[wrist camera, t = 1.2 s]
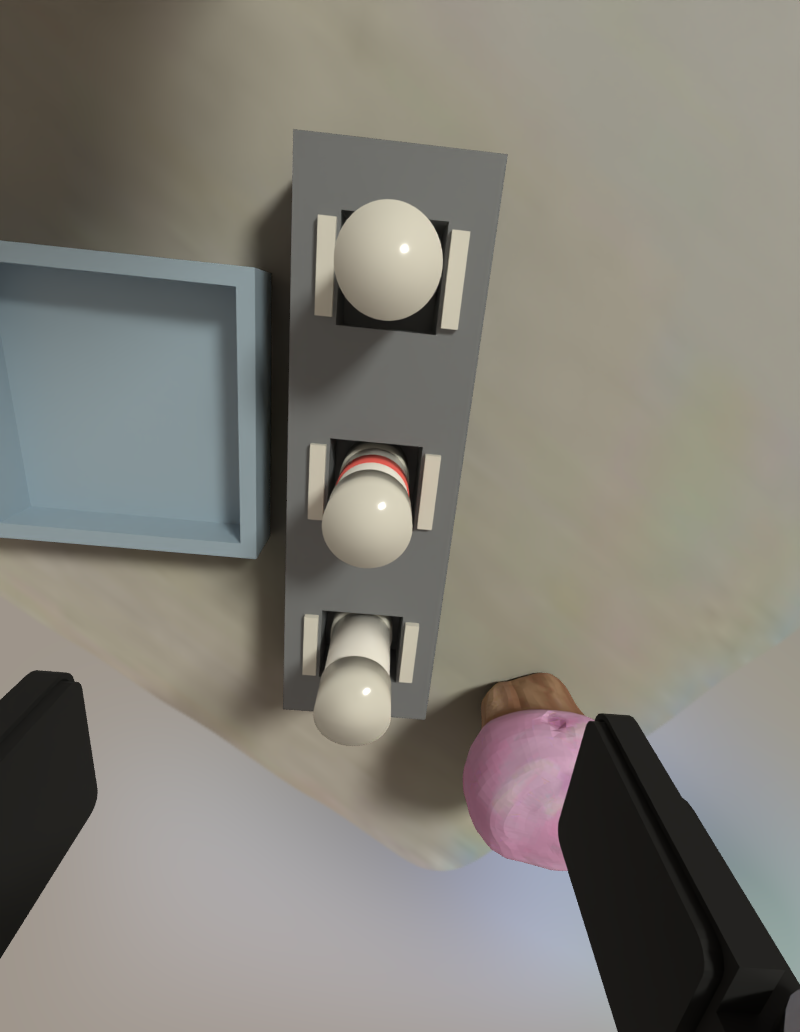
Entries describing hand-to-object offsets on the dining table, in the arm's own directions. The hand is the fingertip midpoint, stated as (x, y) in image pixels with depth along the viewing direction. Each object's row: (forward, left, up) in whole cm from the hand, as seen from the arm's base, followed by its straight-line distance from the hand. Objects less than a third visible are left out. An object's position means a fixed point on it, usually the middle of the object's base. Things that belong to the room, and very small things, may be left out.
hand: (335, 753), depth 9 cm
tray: (-2, -13, -19) cm, 23 cm away
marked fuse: (0, 0, -18) cm, 18 cm away
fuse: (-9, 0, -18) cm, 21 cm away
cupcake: (+15, +10, -20) cm, 27 cm away
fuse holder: (0, 0, -19) cm, 19 cm away
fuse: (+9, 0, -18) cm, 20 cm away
